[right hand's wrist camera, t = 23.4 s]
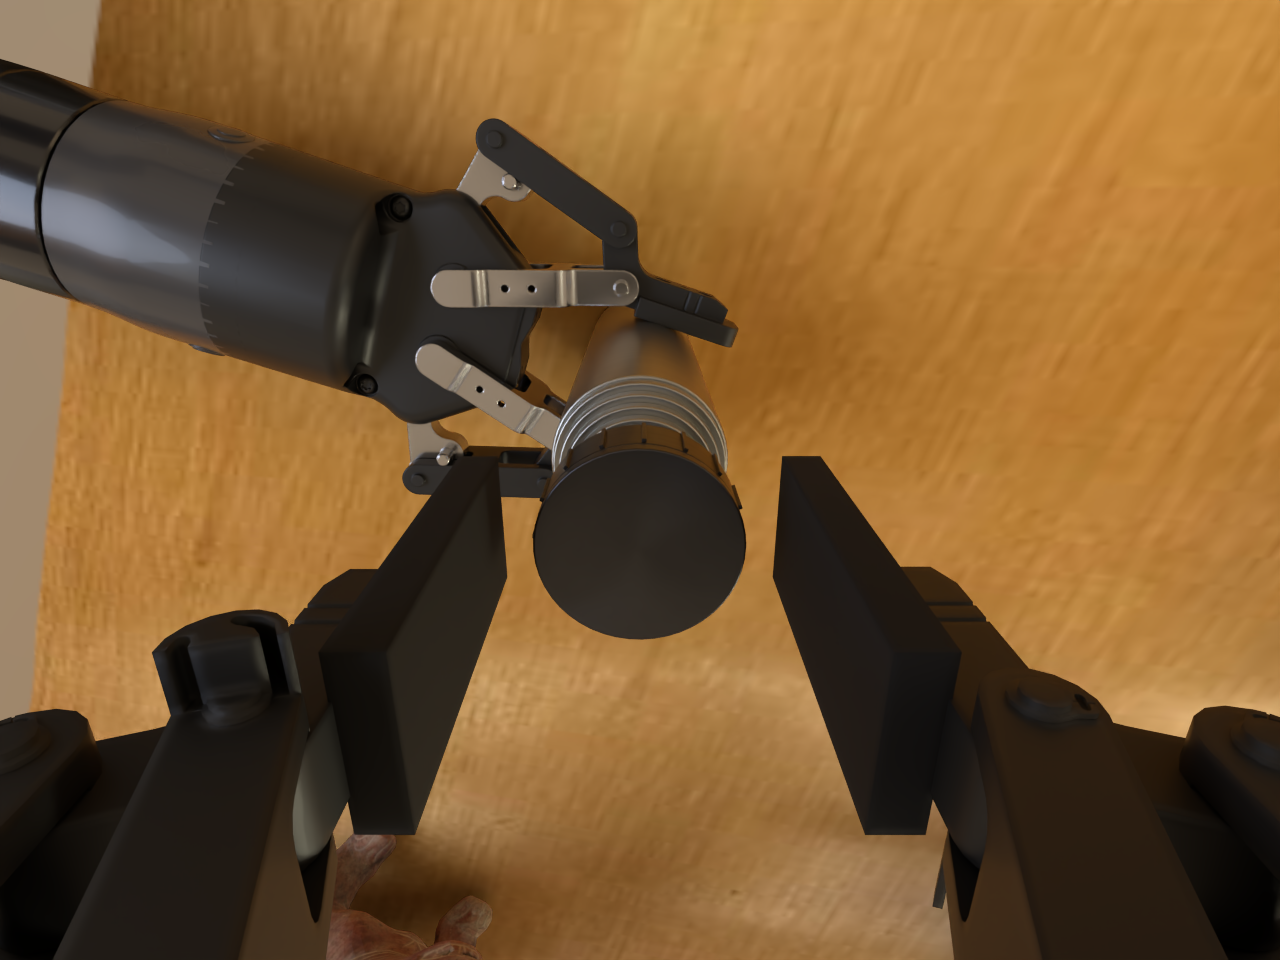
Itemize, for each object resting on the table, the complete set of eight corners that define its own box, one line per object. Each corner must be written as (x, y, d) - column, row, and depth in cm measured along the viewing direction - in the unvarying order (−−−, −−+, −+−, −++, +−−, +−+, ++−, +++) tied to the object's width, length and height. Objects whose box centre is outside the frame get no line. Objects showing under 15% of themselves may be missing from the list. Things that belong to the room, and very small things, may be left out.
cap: (522, 439, 14) (510, 465, 12) (725, 408, 14) (735, 431, 12) (562, 612, 15) (554, 653, 14) (746, 587, 15) (757, 626, 14)
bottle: (574, 325, 32) (482, 492, 13) (659, 277, 31) (687, 382, 12) (621, 406, 33) (598, 662, 15) (703, 362, 33) (789, 572, 14)
